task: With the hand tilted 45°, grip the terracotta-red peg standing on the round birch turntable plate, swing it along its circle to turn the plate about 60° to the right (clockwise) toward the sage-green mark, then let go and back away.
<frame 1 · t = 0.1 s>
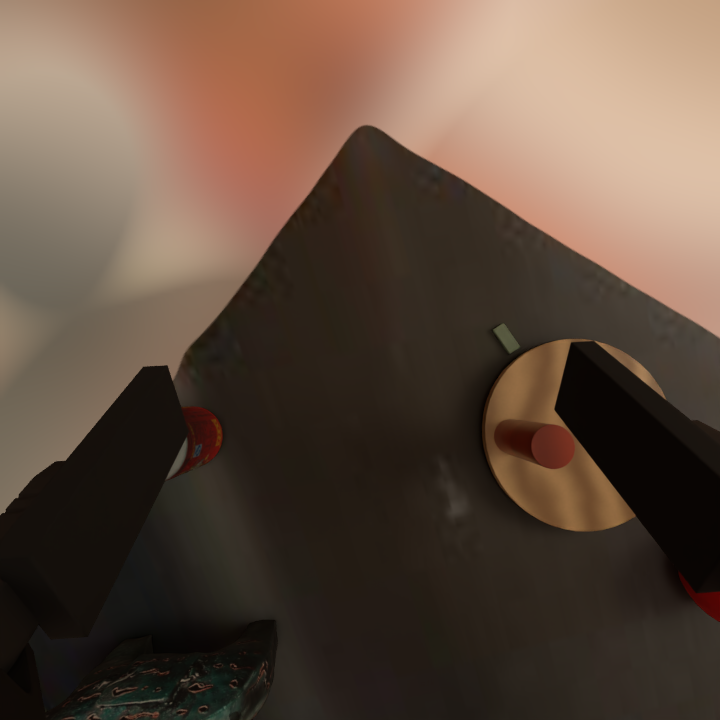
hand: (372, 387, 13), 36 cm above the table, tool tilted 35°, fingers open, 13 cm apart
fruit: (698, 563, 47), on the table
soda can: (199, 435, 49), on the table
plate: (603, 436, 42), point 7 cm above the table, hinge at 0.0°
ceramic cat: (198, 639, 46), on the table
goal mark: (505, 338, 50), on the table
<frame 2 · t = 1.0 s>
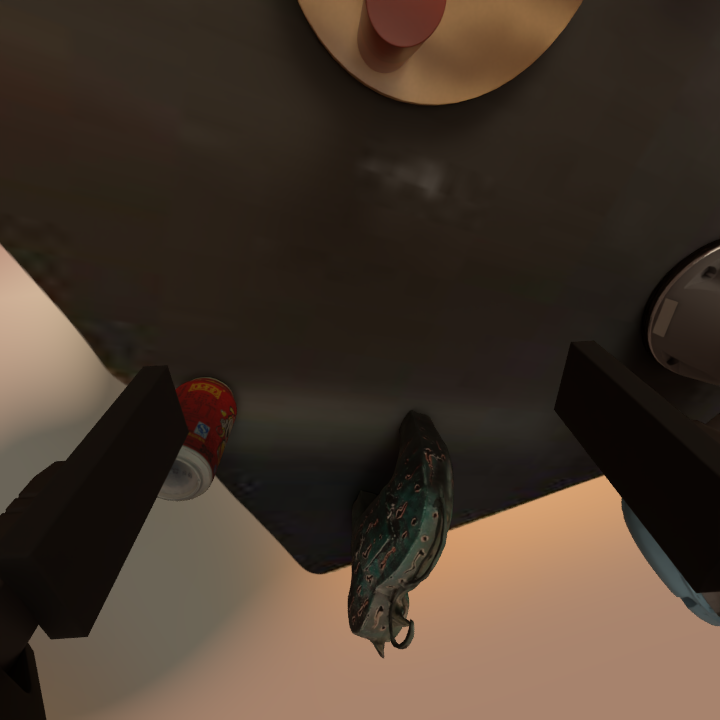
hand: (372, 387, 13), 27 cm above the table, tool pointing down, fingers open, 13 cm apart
soda can: (209, 396, 45), on the table
ceramic cat: (385, 464, 52), on the table
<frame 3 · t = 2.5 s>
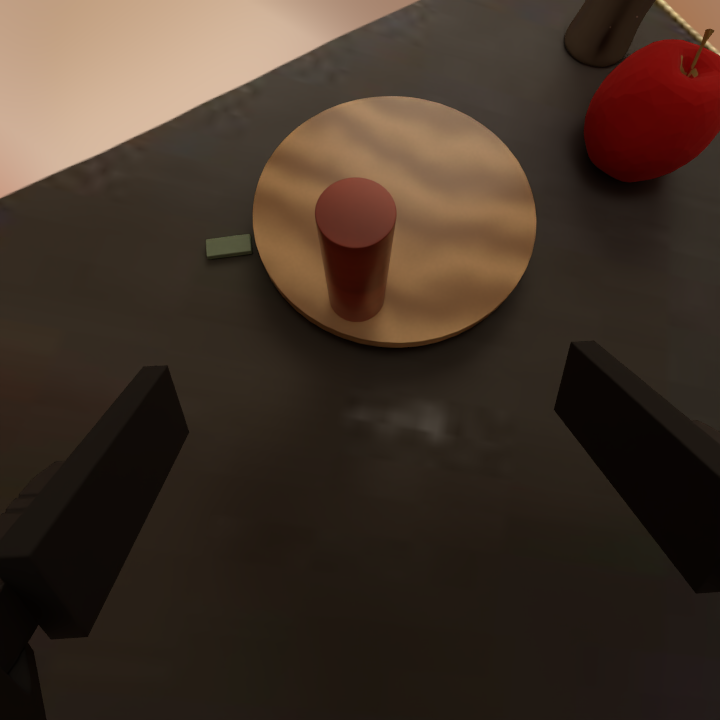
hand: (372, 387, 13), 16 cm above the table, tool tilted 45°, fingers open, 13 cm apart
fruit: (616, 158, 36), on the table
beer glass: (593, 45, 39), on the table
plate: (399, 166, 27), point 7 cm above the table, hinge at 0.0°
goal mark: (230, 248, 33), on the table
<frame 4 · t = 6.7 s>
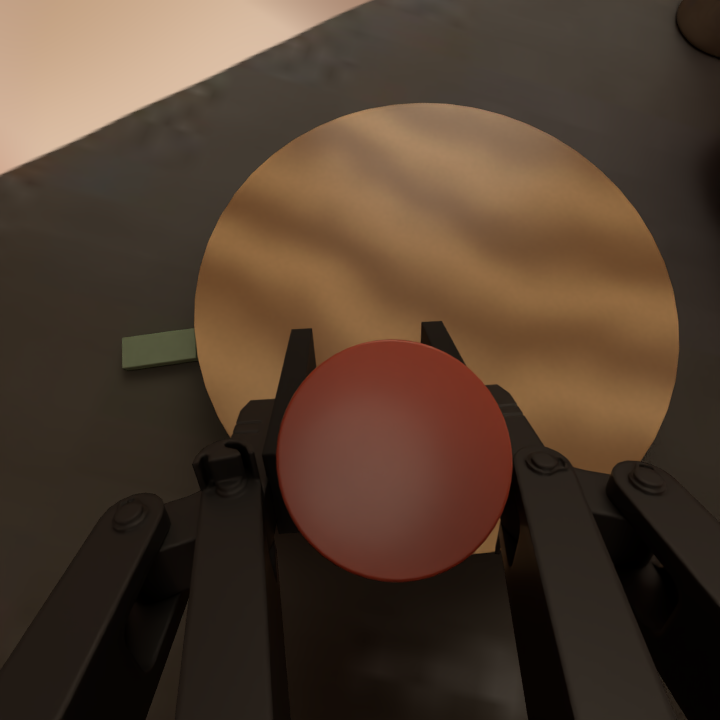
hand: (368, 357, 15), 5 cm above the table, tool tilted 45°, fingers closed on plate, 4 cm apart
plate: (458, 241, 14), point 7 cm above the table, hinge at 0.0°, touching gripper
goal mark: (163, 350, 20), on the table
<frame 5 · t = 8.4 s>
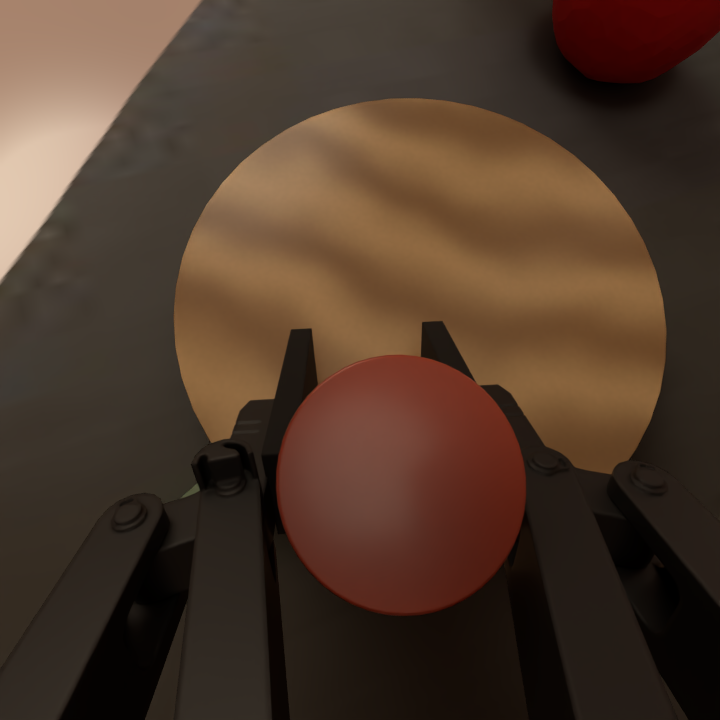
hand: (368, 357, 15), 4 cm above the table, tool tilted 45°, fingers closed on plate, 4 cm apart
fruit: (601, 58, 25), on the table
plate: (442, 239, 14), point 7 cm above the table, hinge at -29.8°, touching gripper
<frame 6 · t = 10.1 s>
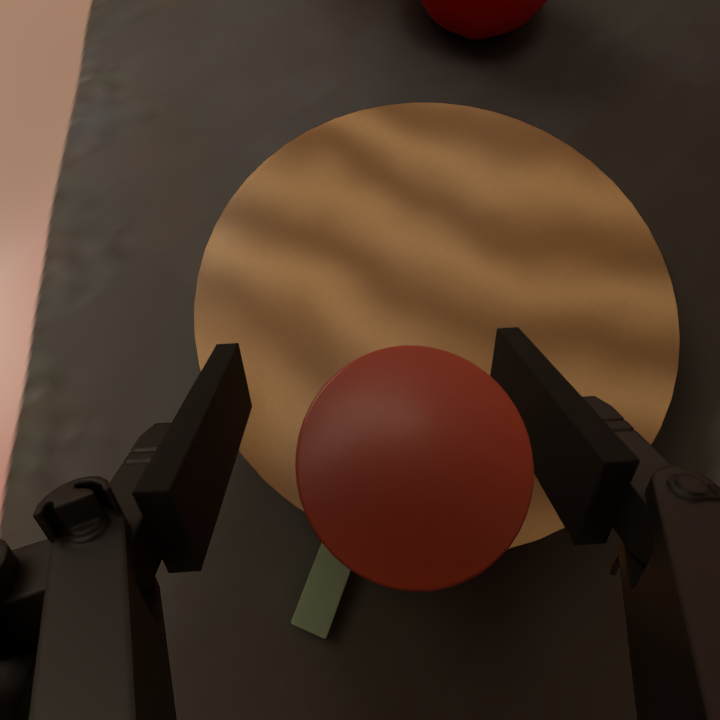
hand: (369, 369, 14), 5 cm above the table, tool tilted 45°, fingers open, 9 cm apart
fruit: (472, 17, 26), on the table
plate: (459, 240, 14), point 7 cm above the table, hinge at -57.4°
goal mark: (325, 583, 17), on the table
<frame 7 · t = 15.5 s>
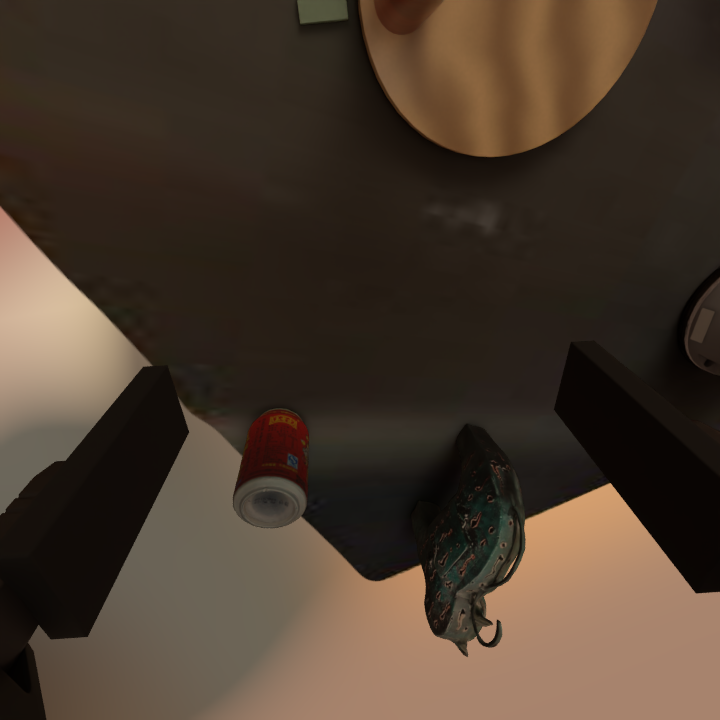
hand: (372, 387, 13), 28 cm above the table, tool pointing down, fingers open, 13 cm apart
soda can: (280, 426, 48), on the table
ceramic cat: (441, 474, 55), on the table
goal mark: (322, 9, 30), on the table
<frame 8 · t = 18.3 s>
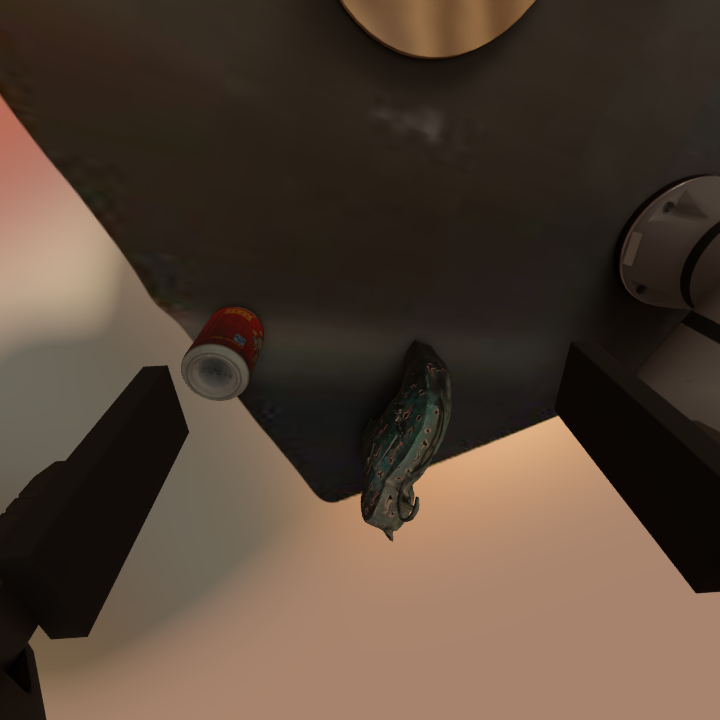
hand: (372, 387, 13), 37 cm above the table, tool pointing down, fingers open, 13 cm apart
soda can: (239, 326, 52), on the table
ceramic cat: (392, 393, 58), on the table
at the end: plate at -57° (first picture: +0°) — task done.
